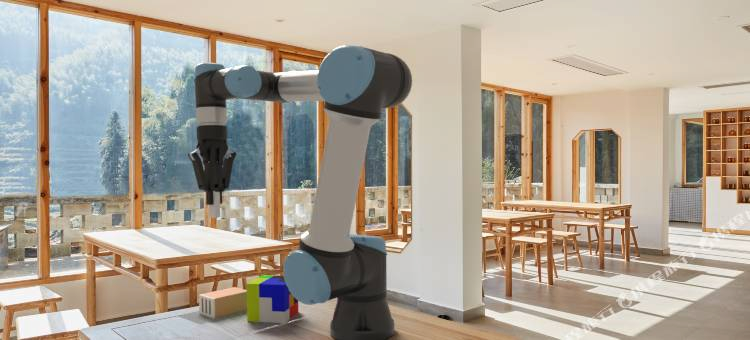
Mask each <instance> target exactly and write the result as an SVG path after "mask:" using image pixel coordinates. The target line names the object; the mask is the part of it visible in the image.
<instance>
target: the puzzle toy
mask: <svg viewBox="0 0 750 340" xmlns="http://www.w3.org/2000/svg"><path fill="white" fill-rule="evenodd" d="M246 290H247V312H246V320H247V322H255V323H256V322H258V323H276V324H277V325H278V326H282V325H283V326H285V325H286V324H288V323H289V322H291V318H293V317H294V316H295V315H296V314H298V313H299V301H298V300H297V299H295V298H294V297H293V295H292V294H291V293H290V291H289V289H288V287H287V285H286V283H285V280H284V275H266V274H265V275H264V274H263V275H260V276H258V277H256V278H254V279H252V280H250V281H249V282H247V283H246Z"/></svg>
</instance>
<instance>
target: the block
mask: <svg viewBox="0 0 750 340" xmlns="http://www.w3.org/2000/svg"><path fill="white" fill-rule="evenodd" d="M198 307H199V310H198V311H199V313H200V314H202V315H205V316H208V317H211V318H217V317H221V316H225V315H229V314H233V313H237V312H241V311H245V310H247V289H243V288H240V287H235V286H232V287H228V288H224V289H220V290H219V289H218V290H215V291H209V292H205V293H200V294H199V295H198Z"/></svg>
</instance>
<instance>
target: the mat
mask: <svg viewBox="0 0 750 340" xmlns="http://www.w3.org/2000/svg"><path fill="white" fill-rule="evenodd" d="M245 313H246V314H247V310H245V311H241V312H237V313H233V314H229V315H225V316H221V317H217V318H211V317H208V316H205V315H202V314H200V313H199V310H198V311H194V312H191V313H186V314H182V315H178V316H177V317H179V318H182V319H185V320H187V321H190V322H192V323H195V324H198V325H203V324H207V323H212V322H214V321H219V320H223V319H226V318H231V317H234V316H239V315H241V314H245Z"/></svg>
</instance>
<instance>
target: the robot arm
mask: <svg viewBox="0 0 750 340" xmlns="http://www.w3.org/2000/svg"><path fill="white" fill-rule="evenodd" d="M193 79H194V80H193V82H194V91H195V92H194V93H195V95H194V96H195V115H196V117H195V118H196V119H195V120H196V121H195V122H196V124H197V127H196V140H197V144H196V147H195V148H196V149H194V150H193V151H192V152H188V153H187V156H188V158H189V160H190V161H191V164H192V167H193V172H194V175H195V180H196V184H197V188H198V190H200V191H203V192H204V193H205V199H206V200H205V201H206V205H207V206H208V209H209V210H208V213H209V214H208V216H209V217H208V218H210V219H217V218H218V219H219V218H221V204H222V205H223V193H224V191H225V190H226V189H229V187H230V182H231V176H232V170H233V166H234V165H233V164H234V160H235V159H236V157H237V153H236V152H235V151H232V150H230V149H229V146H228V143H227V141H228V127H227V124H228V116H227V114H228V113H227V111H228V110H227V100H235V99H237V100H238V99H239V100H240V99H241V100H251V101H262V102H263V101H264V102H272V103H277V104H279V103H280V104H287V103H291V102H324V106H323V111H324V112H325V114H326V115H327V117H328V118H329V119H328V124H327V125H328V126H327V129H326V135H325V140H324V141H325V142H324V146H323V151H322V152H323V153H322V156H321V157H322V158H321V163H320V167H319V168H320V169H319V172H318V178H317V185H316V191H315V196H314V199H313V200H314V202H313V206H312V211H311V217H310V222H309V228H308V229H307V230H305V231H303V232H302V233H301V234H300V238H299V243H298V249H297V250H295V249H294V250H293V251H292V252H290V254H288V255H287V256H286V258H285V259H284V263H283V267H282V268H283V269H282V270H283V272H282V273H283V276H284V280H285V283H286V285H287V287H288V289H289V291H290V293H291V294H292V295H293V297H294V298H295V299H297V300H298V303H301V304H304V305H308V306H311V305H312V306H313V305H317V304H325V303H327V302H328V301H332V300H334V299H336V300H337V301H336V304H335V307H334V311H333V316H332V320H331V321H330V326H329V328H330V329H329V331H330V332H329V333H330V336H331V337H332V338H333V339H336V340H387V339H389V338H391V337H392V336H394V334H395V330H396V329H395V325H396V324H395V321H394V320H395V319H393V318H392V314H391V310H390V309H391V308H390V307H389V303H388V298H387V297H388V296H387V295H388V294H387V282H388V281H387V278H388V277H387V256H388V253H387V247H386V245H387V244H386V240H385V239H384V238H383V237H381V236H376V235H365V234H352V233H351V229H352V223H353V218H354V217H353V216H354V212H355V208H356V203H357V197H358V194H359V193H358V191H359V187H360V182H361V179H362V173H363V168H364V162H365V159H366V158H365V157H366V152H367V149H368V148H367V147H368V143H369V138H370V132H371V128H372V126H373V125H375V124H377V123H378V122H379V121H380V119H381V115H382V111H383V109H391V108H394V107H397V106H399V105H400V104H402V103H403V102H404V101H405V100H406V99H407V98H408V96H410V93H411V90H412V86H413V76H412V73H411V69H410V68H409V66H408V65H407V63H406V62H405V60H403V59H402V58H401V57H399V56H398V55H395V54H392V53H388V52H383V51H379V50H377V49H376V50H375V49H371V48H368V47H365V46H362V45H358V46H357V45H349V44H348V45H347V44H346V45H345V44H343V45H340V46H338V47H335V48H334V49H333V50H332V51H331V52H328V53H327V55H325V57H324V58H323V60H322V61H321V64H320V66H319V68H318V70H316V69H315V70H302V71H301V70H300V71H285V72H284V71H283V72H270V71H264V70H258V69H256V68H255V67H253V66H252V65H249V64H247V65H246V64H245V65H236V66H233V67H229V68H228V67H227V68H226V67H225V66H224V65H223V64H222V63H217V62H202V63H198V64H197V65H196V66H195V68H194V78H193ZM201 158H202V159H201Z"/></svg>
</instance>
